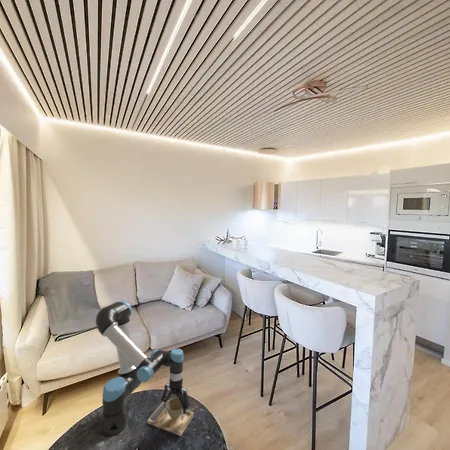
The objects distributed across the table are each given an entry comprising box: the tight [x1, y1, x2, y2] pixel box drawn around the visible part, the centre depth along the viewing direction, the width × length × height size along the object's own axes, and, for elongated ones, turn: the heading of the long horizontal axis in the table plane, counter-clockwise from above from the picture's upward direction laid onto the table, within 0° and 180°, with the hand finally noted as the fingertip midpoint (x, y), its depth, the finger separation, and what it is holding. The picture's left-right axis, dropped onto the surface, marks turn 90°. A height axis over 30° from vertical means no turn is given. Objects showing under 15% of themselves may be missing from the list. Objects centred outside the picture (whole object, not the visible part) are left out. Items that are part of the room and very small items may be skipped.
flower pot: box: [167, 397, 183, 419], centre depth 141 cm, size 10×10×7 cm
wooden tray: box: [147, 401, 194, 437], centre depth 142 cm, size 22×14×3 cm
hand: (174, 415), depth 141 cm, fingers closed on flower pot, 10 cm apart
